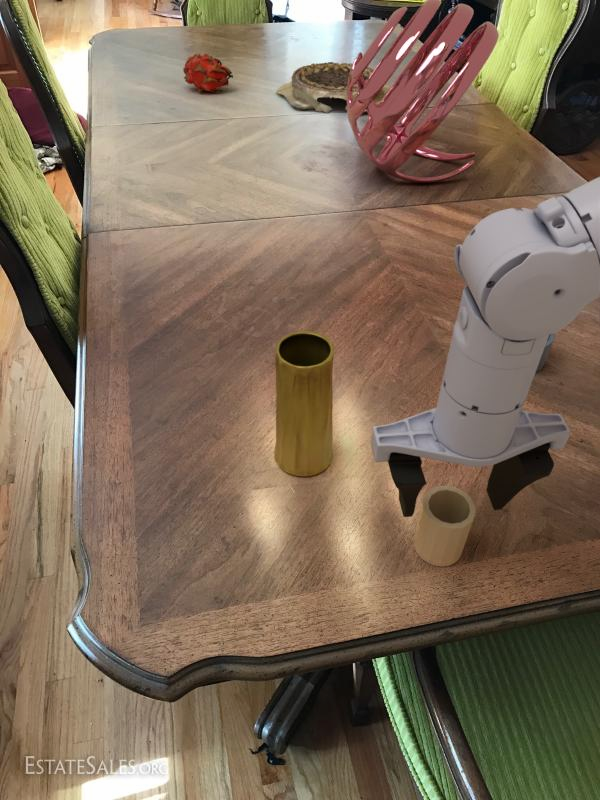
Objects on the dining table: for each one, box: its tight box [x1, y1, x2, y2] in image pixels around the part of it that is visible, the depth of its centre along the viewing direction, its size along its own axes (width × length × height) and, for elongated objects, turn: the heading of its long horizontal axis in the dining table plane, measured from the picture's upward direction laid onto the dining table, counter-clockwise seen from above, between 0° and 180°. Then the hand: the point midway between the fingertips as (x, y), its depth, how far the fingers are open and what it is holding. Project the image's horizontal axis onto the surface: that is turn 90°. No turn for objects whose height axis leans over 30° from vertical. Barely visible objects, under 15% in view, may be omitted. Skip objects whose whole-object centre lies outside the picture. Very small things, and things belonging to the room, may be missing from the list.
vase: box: [273, 330, 335, 477], centre depth 59 cm, size 6×6×14 cm
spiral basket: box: [346, 0, 500, 184], centre depth 106 cm, size 28×28×27 cm
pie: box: [275, 61, 392, 114], centre depth 142 cm, size 28×27×5 cm
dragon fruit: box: [182, 53, 234, 94], centre depth 143 cm, size 8×8×12 cm
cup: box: [413, 484, 477, 568], centre depth 54 cm, size 4×4×6 cm
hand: (449, 503), depth 52 cm, fingers open, 7 cm apart
